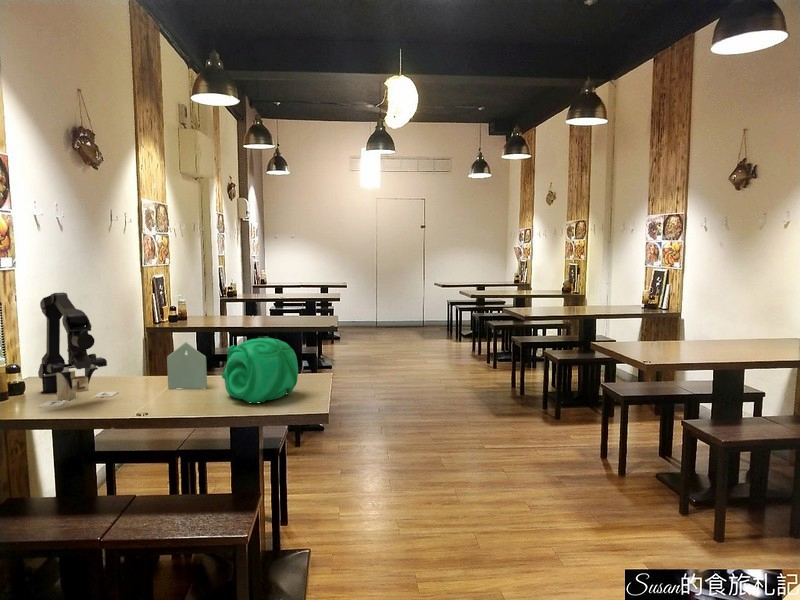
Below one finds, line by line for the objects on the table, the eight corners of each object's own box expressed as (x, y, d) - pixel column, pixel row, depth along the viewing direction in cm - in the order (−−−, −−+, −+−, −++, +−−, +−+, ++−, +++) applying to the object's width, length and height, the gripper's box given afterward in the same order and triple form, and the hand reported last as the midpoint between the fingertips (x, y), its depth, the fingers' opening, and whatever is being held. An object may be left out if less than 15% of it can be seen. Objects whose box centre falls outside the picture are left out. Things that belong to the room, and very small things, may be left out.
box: (66, 401, 218) (65, 372, 217) (57, 400, 219) (55, 372, 218) (77, 397, 224) (75, 370, 223) (67, 397, 224) (66, 369, 223)
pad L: (93, 398, 223) (93, 396, 223) (100, 393, 230) (100, 391, 230) (111, 397, 224) (111, 395, 223) (118, 393, 230) (118, 391, 230)
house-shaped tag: (213, 384, 244) (212, 339, 243) (206, 389, 236) (205, 342, 235) (176, 384, 245) (174, 339, 243) (168, 389, 237) (166, 342, 235)
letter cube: (73, 393, 208) (73, 379, 208) (69, 390, 212) (68, 377, 211) (88, 390, 212) (88, 377, 211) (84, 388, 215) (83, 375, 215)
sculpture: (244, 369, 243) (276, 317, 233) (285, 415, 234) (320, 363, 224) (195, 382, 220) (228, 324, 209) (238, 433, 211) (276, 376, 200)
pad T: (39, 407, 210) (39, 405, 209) (49, 402, 216) (49, 400, 216) (59, 406, 210) (59, 405, 210) (68, 401, 217) (68, 400, 217)
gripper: (54, 352, 198) (57, 396, 199) (111, 345, 211) (113, 387, 213) (45, 348, 206) (48, 391, 207) (100, 342, 219) (102, 382, 220)
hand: (78, 387), depth 212 cm, fingers closed on letter cube, 5 cm apart
